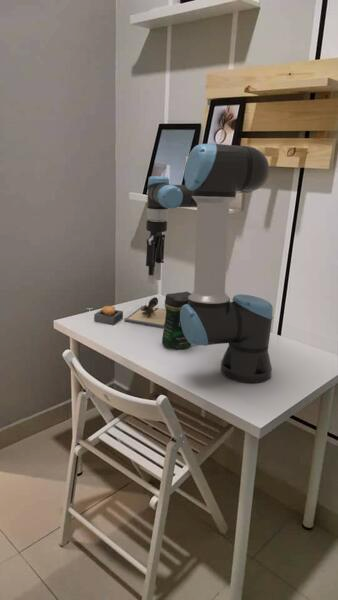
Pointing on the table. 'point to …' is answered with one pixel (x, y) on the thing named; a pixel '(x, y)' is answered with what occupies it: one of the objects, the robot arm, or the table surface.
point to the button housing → (108, 317)
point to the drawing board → (152, 321)
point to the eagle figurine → (150, 307)
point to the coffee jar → (174, 321)
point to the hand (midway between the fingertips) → (154, 281)
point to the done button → (109, 310)
